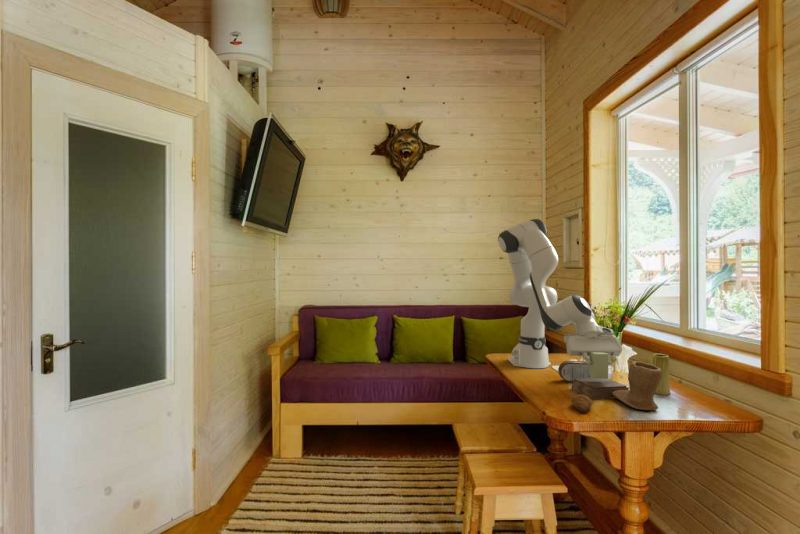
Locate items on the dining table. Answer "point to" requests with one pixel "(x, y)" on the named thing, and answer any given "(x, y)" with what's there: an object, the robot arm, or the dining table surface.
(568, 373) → the tin
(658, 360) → the vase
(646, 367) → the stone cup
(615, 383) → the plinth
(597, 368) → the block
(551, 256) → the robot arm
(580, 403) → the brown rounded lump
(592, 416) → the dining table surface
